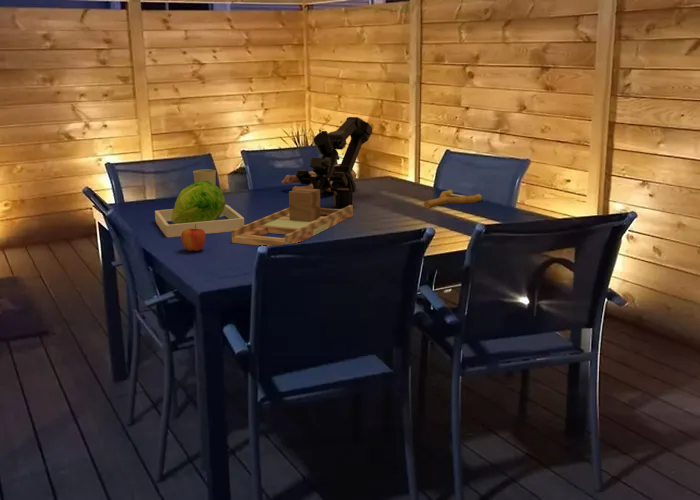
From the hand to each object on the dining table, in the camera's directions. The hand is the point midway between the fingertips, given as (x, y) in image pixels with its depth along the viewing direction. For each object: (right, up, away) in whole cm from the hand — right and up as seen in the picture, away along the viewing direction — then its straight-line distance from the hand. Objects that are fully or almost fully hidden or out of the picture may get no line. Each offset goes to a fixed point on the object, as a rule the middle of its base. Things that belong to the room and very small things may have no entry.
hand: (314, 197), depth 275 cm
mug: (-46, +2, +41) cm, 62 cm away
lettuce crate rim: (-40, -10, -5) cm, 42 cm away
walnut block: (-3, -8, -6) cm, 10 cm away
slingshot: (+51, -1, +30) cm, 59 cm away
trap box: (-6, -11, -11) cm, 17 cm away
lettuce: (-40, -10, -5) cm, 42 cm away
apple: (-35, -19, -39) cm, 56 cm away
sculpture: (+1, +6, +57) cm, 57 cm away
